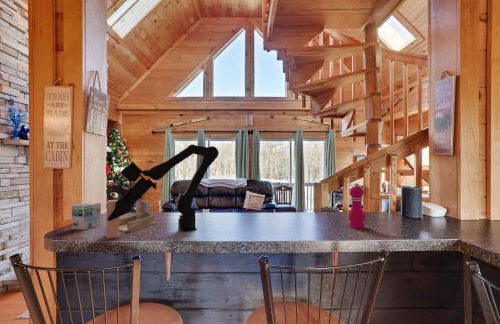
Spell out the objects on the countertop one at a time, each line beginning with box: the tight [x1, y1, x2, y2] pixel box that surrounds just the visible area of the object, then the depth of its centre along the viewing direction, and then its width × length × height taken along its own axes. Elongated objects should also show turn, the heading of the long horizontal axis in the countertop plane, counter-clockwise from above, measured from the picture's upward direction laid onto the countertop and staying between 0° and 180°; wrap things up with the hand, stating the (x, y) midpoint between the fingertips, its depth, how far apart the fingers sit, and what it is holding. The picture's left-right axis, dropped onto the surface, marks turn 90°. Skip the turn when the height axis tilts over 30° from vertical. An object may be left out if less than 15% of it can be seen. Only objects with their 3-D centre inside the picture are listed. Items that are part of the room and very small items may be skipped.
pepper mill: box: [347, 182, 366, 230], centre depth 128 cm, size 7×7×20 cm
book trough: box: [119, 200, 157, 233], centre depth 130 cm, size 12×18×11 cm, turn 165°
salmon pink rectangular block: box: [105, 199, 120, 239], centre depth 114 cm, size 4×6×14 cm, turn 21°
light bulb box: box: [71, 201, 102, 231], centre depth 129 cm, size 11×7×11 cm, turn 168°
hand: (109, 218), depth 113 cm, fingers closed on salmon pink rectangular block, 6 cm apart
